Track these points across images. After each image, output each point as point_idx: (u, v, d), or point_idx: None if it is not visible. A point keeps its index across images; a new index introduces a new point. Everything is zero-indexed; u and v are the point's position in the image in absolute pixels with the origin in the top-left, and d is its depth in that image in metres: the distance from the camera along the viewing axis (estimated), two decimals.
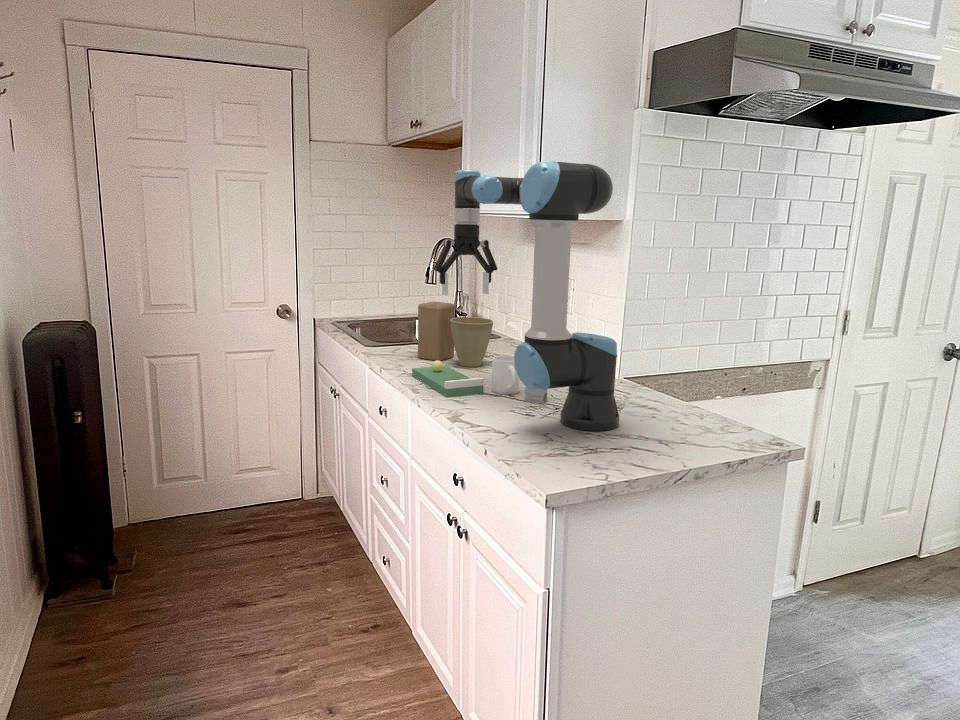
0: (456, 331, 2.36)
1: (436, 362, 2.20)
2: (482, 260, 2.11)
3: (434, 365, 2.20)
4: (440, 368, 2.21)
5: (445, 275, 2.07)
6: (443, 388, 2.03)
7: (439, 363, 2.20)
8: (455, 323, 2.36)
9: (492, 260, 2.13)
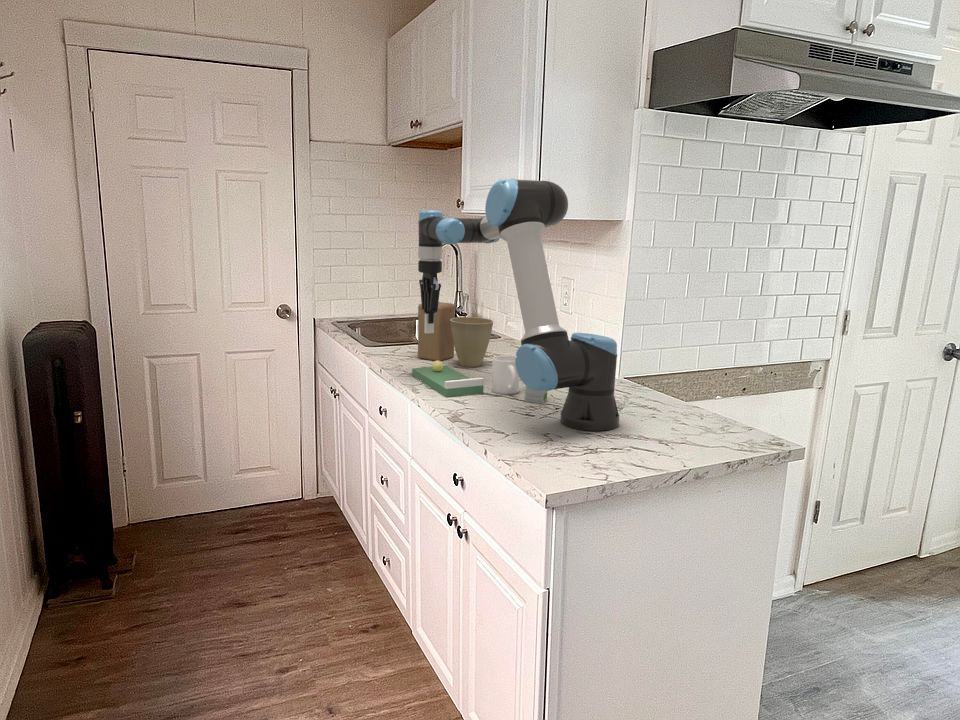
0: (456, 331, 2.36)
1: (436, 362, 2.20)
2: (427, 298, 2.22)
3: (434, 365, 2.20)
4: (440, 368, 2.21)
5: None
6: (443, 388, 2.03)
7: (439, 363, 2.20)
8: (455, 323, 2.36)
9: (430, 302, 2.20)
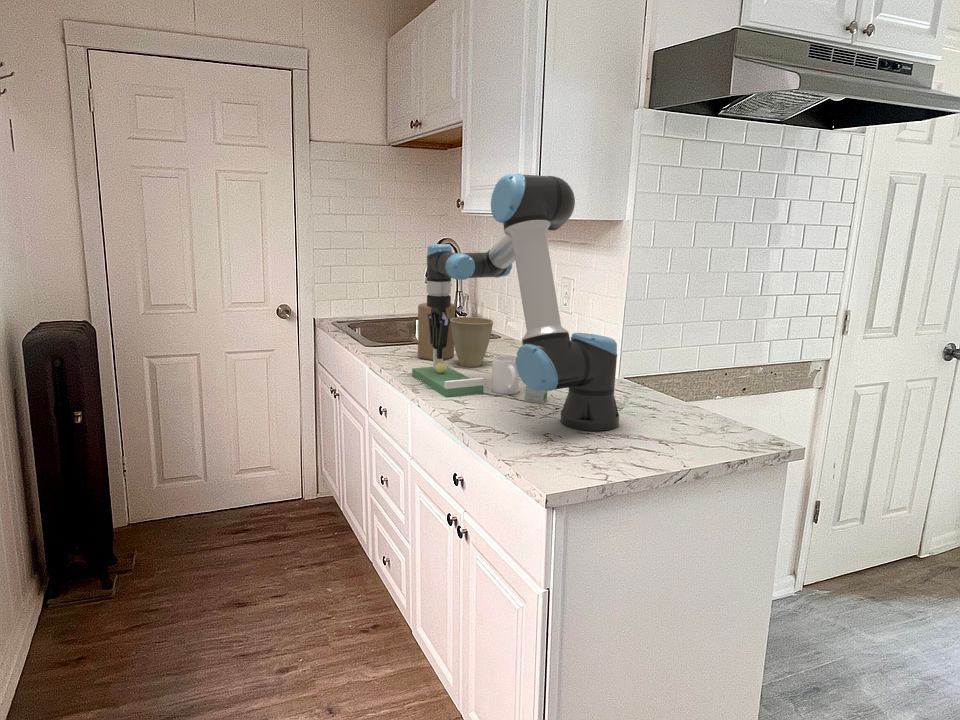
0: (456, 331, 2.36)
1: (440, 370, 2.18)
2: (436, 333, 2.18)
3: (437, 370, 2.18)
4: None
5: None
6: (443, 388, 2.03)
7: (442, 371, 2.18)
8: (455, 323, 2.36)
9: (439, 338, 2.16)
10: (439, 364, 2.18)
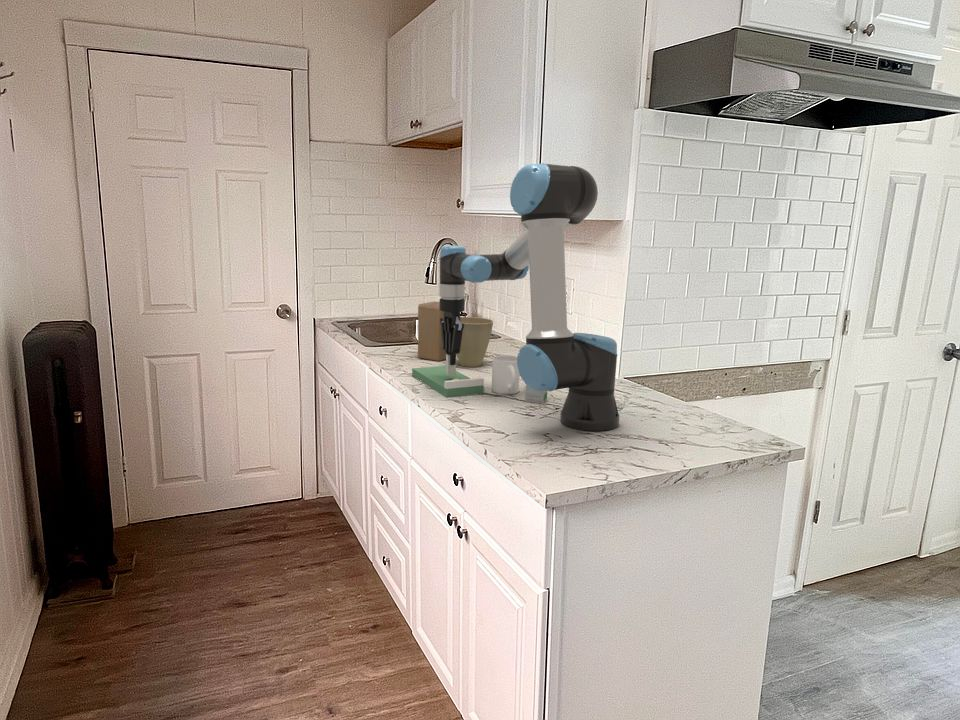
0: None
1: None
2: (449, 339, 2.09)
3: None
4: None
5: None
6: (443, 388, 2.03)
7: None
8: None
9: (452, 343, 2.07)
10: None
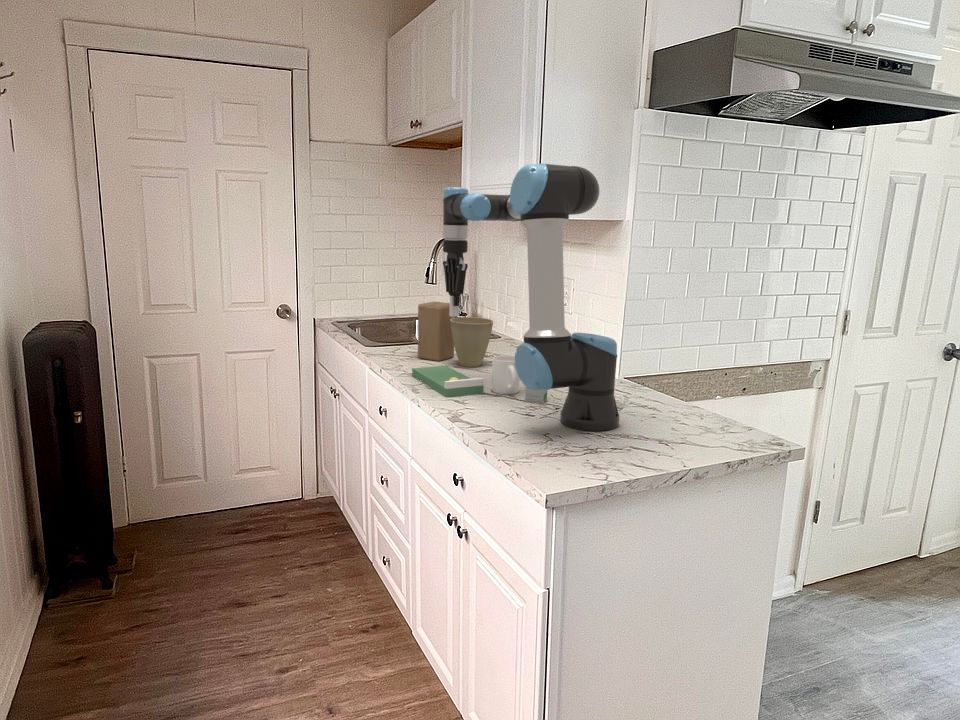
0: (456, 331, 2.36)
1: None
2: (452, 280, 2.13)
3: None
4: None
5: None
6: (443, 388, 2.03)
7: None
8: (455, 323, 2.36)
9: (456, 283, 2.11)
10: (451, 378, 2.11)
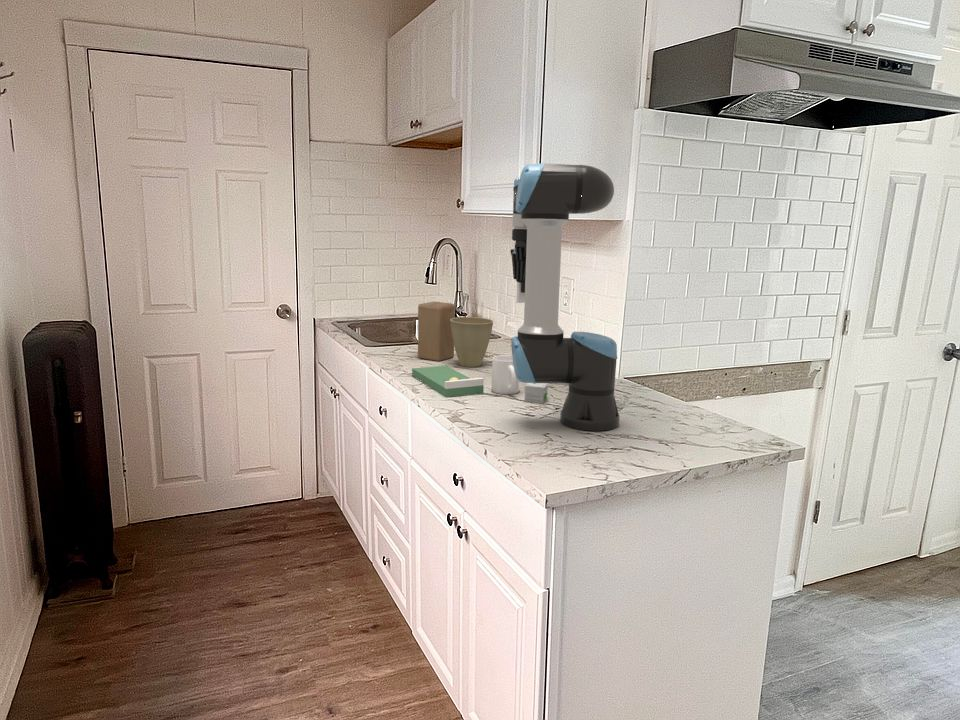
0: (456, 331, 2.36)
1: None
2: (521, 267, 2.21)
3: None
4: None
5: None
6: (443, 388, 2.03)
7: None
8: (455, 323, 2.36)
9: (525, 271, 2.19)
10: (451, 378, 2.10)
